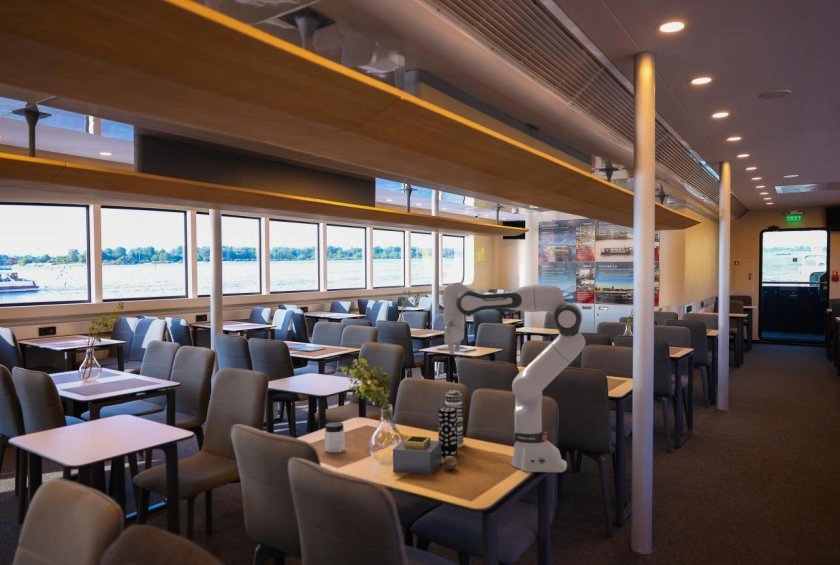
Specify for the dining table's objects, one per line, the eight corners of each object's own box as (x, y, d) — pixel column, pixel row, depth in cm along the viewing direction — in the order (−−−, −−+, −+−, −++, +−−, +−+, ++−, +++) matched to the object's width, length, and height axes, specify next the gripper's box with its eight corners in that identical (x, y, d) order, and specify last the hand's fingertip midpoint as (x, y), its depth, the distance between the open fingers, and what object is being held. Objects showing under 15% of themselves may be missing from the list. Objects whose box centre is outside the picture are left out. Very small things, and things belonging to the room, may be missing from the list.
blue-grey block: (441, 462, 246) (441, 435, 246) (430, 474, 231) (430, 446, 231) (406, 459, 251) (405, 432, 251) (393, 471, 236) (392, 443, 236)
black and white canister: (458, 448, 265) (457, 394, 264) (441, 445, 270) (440, 392, 269) (467, 443, 273) (466, 390, 272) (450, 440, 277) (449, 388, 277)
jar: (337, 454, 260) (336, 427, 260) (322, 452, 263) (321, 426, 263) (347, 448, 268) (347, 422, 268) (332, 446, 272) (332, 421, 271)
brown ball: (458, 467, 238) (458, 454, 238) (455, 472, 233) (455, 458, 233) (445, 466, 240) (445, 453, 240) (442, 471, 235) (441, 457, 235)
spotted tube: (456, 457, 252) (455, 411, 251) (437, 456, 253) (436, 411, 253) (458, 451, 260) (458, 407, 260) (440, 451, 261) (439, 407, 261)
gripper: (455, 322, 238) (455, 356, 238) (466, 318, 257) (467, 349, 257) (440, 322, 240) (441, 355, 240) (452, 318, 259) (453, 349, 259)
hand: (454, 352), depth 249 cm, fingers open, 8 cm apart
